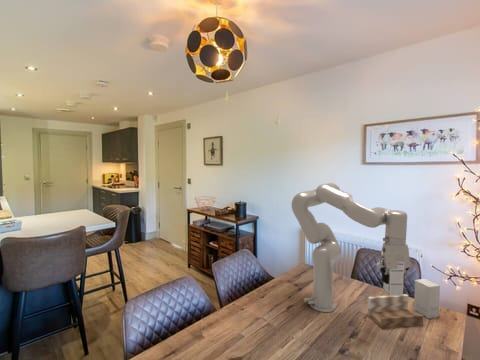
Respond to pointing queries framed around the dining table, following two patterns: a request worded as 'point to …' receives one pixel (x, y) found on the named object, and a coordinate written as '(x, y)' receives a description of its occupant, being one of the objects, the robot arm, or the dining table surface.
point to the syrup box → (395, 281)
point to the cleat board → (392, 312)
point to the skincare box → (427, 298)
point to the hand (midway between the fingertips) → (393, 281)
